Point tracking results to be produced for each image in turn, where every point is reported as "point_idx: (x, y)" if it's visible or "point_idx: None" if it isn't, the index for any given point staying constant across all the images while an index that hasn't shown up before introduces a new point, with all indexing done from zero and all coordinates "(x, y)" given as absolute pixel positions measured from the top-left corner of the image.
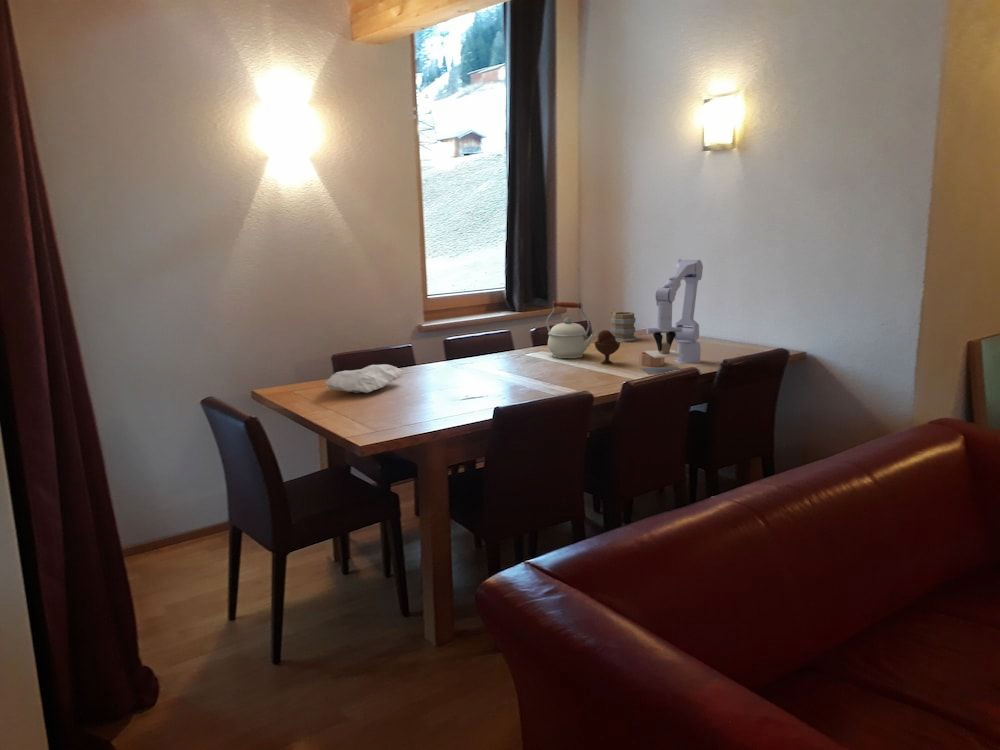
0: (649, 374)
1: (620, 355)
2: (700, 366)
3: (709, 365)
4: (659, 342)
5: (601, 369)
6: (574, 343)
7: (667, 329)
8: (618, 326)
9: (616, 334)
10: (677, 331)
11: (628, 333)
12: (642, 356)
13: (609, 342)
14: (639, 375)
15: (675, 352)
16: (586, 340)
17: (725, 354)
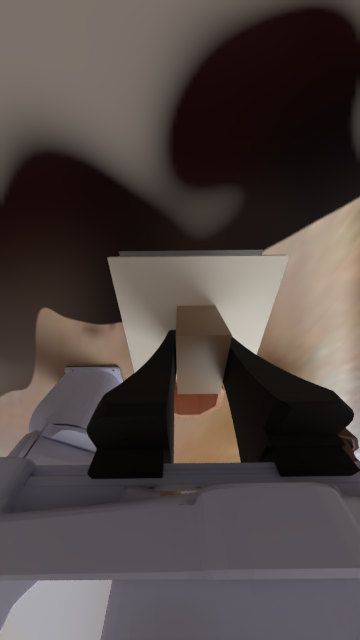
0: (262, 250)
1: (211, 433)
2: (68, 336)
3: (42, 342)
4: (255, 357)
5: (327, 353)
6: None
7: (290, 579)
8: None
9: (178, 493)
10: (50, 479)
11: (163, 495)
12: (222, 385)
13: (342, 446)
14: (291, 259)
15: (137, 330)
16: None
17: (13, 416)
